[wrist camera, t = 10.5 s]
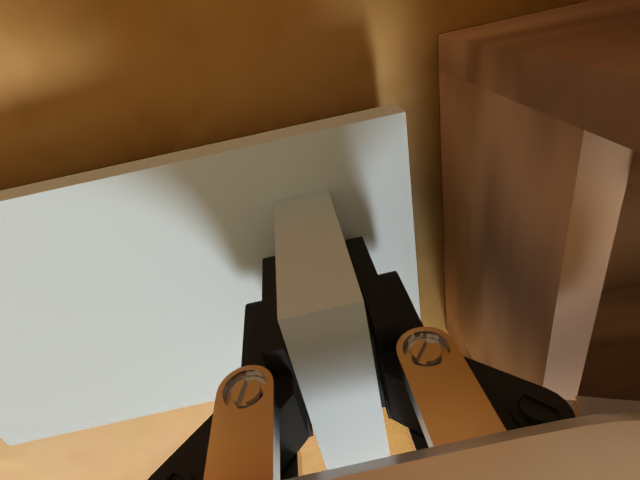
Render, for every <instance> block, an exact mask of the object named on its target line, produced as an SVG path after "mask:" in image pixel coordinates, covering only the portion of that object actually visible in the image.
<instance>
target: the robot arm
mask: <svg viewBox="0 0 640 480" xmlns="http://www.w3.org/2000/svg"><path fill="white" fill-rule="evenodd" d="M345 244H346V247H347V250H348V253H349V256H350V259H351V262H352V265H353V269H354V272H355V275H356V278H357V281H358V284H359V287H360V290H361V294H362V297H363V300H364V305H365V311H366V317H367V323H368V329H369V335H370V340H371V346H372V352H373V358H374V364H375V370H376V376H377V382H378V388H379V394H380V400H381V406H382V407H386V410H387V414H388V417H389V419H390V418H392V419H393V420H395V421H397V422H399V423H400V424H402V425H404V426H406V430H407V434H408V437H409V440H410V443H411V445H412V448H413V451H411V452H407V453H402V454H398V455H393V456H389V457H384V458H380V459H375V460H371V461H366V462H362V463H357V464H353V465H348V466H344V467H339V468H335V469H330V470H326V471H321V472H317V473H312V474H308V475H303V476H302V459H301V452H300V448H301V447H302V446H303V444H304V443H305V442H306V440H307V439H308V438H309V437H310V436H313V430H312V423H311V420H310V417H309V414H308V411H307V408H306V405H305V402H304V399H303V396H302V393H301V390H300V387H299V384H298V381H297V378H296V375H295V372H294V369H293V366H292V363H291V359H290V356H289V353H288V350H287V347H286V344H285V341H284V338H283V335H282V332H281V329H280V326H279V323H278V320H277V290H276V260H275V256H271V257H266V258H263V260H262V301H257V302H253V303H248V304H246V306H245V317H244V331H243V346H242V361H241V367H240V368H238V369H236V370H234V371H233V372H231V373H230V374H228V375H227V376H226V377H225V378H224V379H223V381H222V382H221V384H220V385H219V387H218V390H217V393H216V398H215V405H214V412H213V414H212V415H211V416H210V417H209V418H208V419H207V420H206V421H205V422H204V423H203V424H202V425H201V426H200V427H199V428H198V429H197V430H196V431H195V432H194V433H193V434H192V435H191V436H190V437H189V438H188V439H187V440H186V441H185V442H184V443H183V444H182V445H181V446H180V447H179V448H178V449H177V450H176V451H175V452H174V453H173V454H172V455H171V456H170V457H169V458H168V459H167V460H166V461H165V462H164V463H163V464H162V465H161V466H160V467H159V468H158V469H157V470H156V471H155V472H154V473H153V474H152V475H151V476H150V478H149V479H148V480H640V401H630V400H619V399H608V398H597V397H585V396H575V399H574V400H566V399H563V398H562V397H561V396H560V395H558V394H557V393H555V392H553V391H551V390H549V389H547V388H545V387H542V386H540V385H537V384H535V383H532V382H529V381H527V380H524V379H522V378H519V377H516V376H514V375H511V374H509V373H506V372H503V371H501V370H498V369H496V368H493V367H490V366H488V365H485V364H483V363H480V362H477V361H475V360H472V359H470V358H467V357H464V356H463V355H462V353H461V352H460V350H459V348H458V346H457V345H456V343H455V341H454V340H453V339H452V338H451V336H450V335H448V334H447V333H445V332H444V331H442V330H440V329H437V328H433V327H424V326H423V324H422V322H421V320H420V318H419V316H418V314H417V312H416V310H415V308H414V306H413V304H412V302H411V299H410V297H409V295H408V293H407V291H406V289H405V287H404V285H403V283H402V281H401V279H400V277H399V275H398V273H397V272H396V271H392V272H388V273H383V274H379V275H378V274H377V271H376V269H375V266H374V264H373V262H372V259H371V257H370V254H369V252H368V249H367V247H366V244H365V242H364V239H363V237H362V236H360V237H356V238H351V239H347V240H345Z"/></svg>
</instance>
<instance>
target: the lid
mask: <svg viewBox="0 0 640 480" xmlns="http://www.w3.org/2000/svg"><path fill="white" fill-rule="evenodd" d="M360 236H362V237H363V239H364V242H365V244H366V247H367V249H368V252H369V254H370V257H371V259H372V262H373V264H374V266H375V269H376V271H377V274H378V275H379V274H383V273H388V272H392V271H396V272H397V273H398V275H399V277H400V279H401V281H402V283H403V285H404V287H405V289H406V291H407V293H408V295H409V297H410V299H411V302H412V304H413V306H414V308H415V310H416V312H417V314H418V316H419V318H420V320H421V317H420V303H419V289H418V275H417V262H416V248H415V234H414V221H413V207H412V193H411V179H410V166H409V152H408V138H407V125H406V112H405V111H404V110H403V109H402V108H400V107H399V106H398V105H397V104H396V103H395V104H390V105H385V106H381V107H376V108H372V109H367V110H363V111H358V112H354V113H349V114H345V115H340V116H336V117H331V118H327V119H322V120H318V121H313V122H309V123H304V124H299V125H295V126H290V127H286V128H281V129H277V130H272V131H268V132H263V133H259V134H254V135H250V136H245V137H241V138H236V139H232V140H227V141H222V142H218V143H213V144H209V145H204V146H200V147H195V148H191V149H186V150H182V151H177V152H173V153H168V154H164V155H159V156H155V157H150V158H146V159H141V160H136V161H132V162H127V163H123V164H118V165H114V166H109V167H105V168H100V169H96V170H91V171H87V172H82V173H78V174H73V175H69V176H64V177H60V178H55V179H50V180H46V181H41V182H37V183H32V184H28V185H23V186H19V187H14V188H10V189H5V190H1V191H0V438H1V439H2V440H3V441H5V442H6V443H7V444H8V445H9V446H11V445H15V444H20V443H24V442H29V441H33V440H38V439H43V438H47V437H52V436H56V435H61V434H65V433H70V432H74V431H79V430H83V429H88V428H92V427H97V426H101V425H106V424H111V423H115V422H120V421H124V420H129V419H133V418H138V417H142V416H147V415H151V414H156V413H160V412H165V411H170V410H174V409H179V408H183V407H188V406H192V405H197V404H201V403H206V402H210V401H215V398H216V393H217V390H218V387H219V385H220V384H221V382H222V381H223V379H224V378H225V377H226V376H227V375H228V374H230V373H231V372H233V371H234V370H236V369H238V368H240V367H241V361H242V346H243V331H244V317H245V306H246V304H248V303H253V302H257V301H262V260H263V258H266V257H271V256H275V260H276V290H277V320H278V323H279V326H280V329H281V332H282V335H283V338H284V341H285V344H286V347H287V350H288V353H289V356H290V359H291V363H292V366H293V369H294V372H295V375H296V378H297V381H298V384H299V387H300V390H301V393H302V396H303V399H304V402H305V405H306V408H307V411H308V414H309V417H310V420H311V423H312V426H313V429H314V433H315V436H316V439H317V442H318V445H319V448H320V451H321V454H322V457H323V460H324V463H325V466H326V469H327V470H330V469H335V468H339V467H344V466H348V465H353V464H357V463H362V462H366V461H371V460H375V459H380V458H384V457H389V456H390V453H389V447H388V441H387V435H386V429H385V423H384V417H383V412H382V406H381V400H380V394H379V388H378V382H377V376H376V370H375V364H374V358H373V352H372V346H371V340H370V335H369V329H368V323H367V317H366V311H365V305H364V300H363V297H362V294H361V290H360V287H359V284H358V281H357V278H356V275H355V272H354V269H353V265H352V262H351V259H350V256H349V253H348V250H347V247H346V244H345V240H347V239H351V238H356V237H360Z"/></svg>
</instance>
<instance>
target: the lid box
mask: <svg viewBox="0 0 640 480" xmlns="http://www.w3.org/2000/svg"><path fill="white" fill-rule="evenodd" d="M438 58H439V92H440V127H441V161H442V195H443V229H444V263H445V297H446V329H447V330H448V332H449V334H450V336H451V338H452V339H453V340H454V341H455V343H456V345H457V346H458V348H459V350H460V352H461V353H462V355H463V356H464V357H467V358H470V359H472V360H475V361H477V362H480V363H483V364H485V365H488V366H490V367H493V368H496V369H498V370H501V371H503V372H506V373H509V374H511V375H514V376H516V377H519V378H522V379H524V380H527V381H529V382H532V383H535V384H537V385H540V386H542V387H545V388H547V389H549V390H551V391H553V392H555V393H557V394H558V395H560V396H561V397H562V398H563V399H566V400H574V399H575V396H585V397H597V398H608V399H619V400H630V401H640V0H591V1H586V2H582V3H577V4H573V5H568V6H564V7H559V8H555V9H550V10H546V11H541V12H537V13H532V14H528V15H523V16H519V17H514V18H510V19H505V20H501V21H496V22H492V23H487V24H483V25H478V26H474V27H469V28H465V29H460V30H456V31H451V32H447V33H442V34H438Z"/></svg>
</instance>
